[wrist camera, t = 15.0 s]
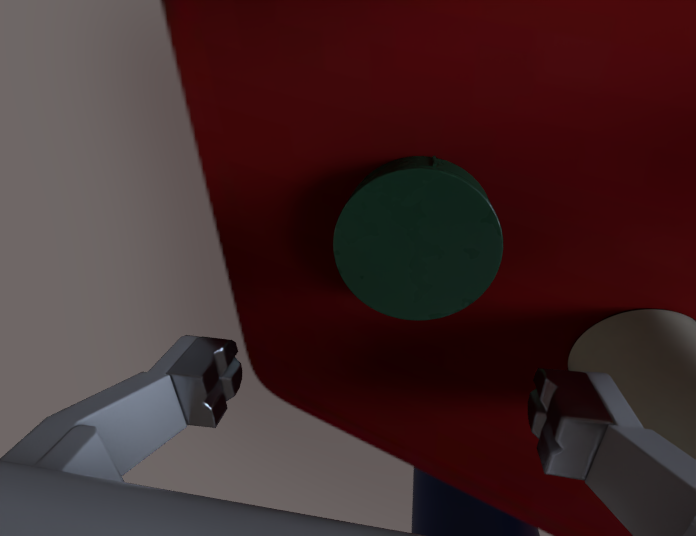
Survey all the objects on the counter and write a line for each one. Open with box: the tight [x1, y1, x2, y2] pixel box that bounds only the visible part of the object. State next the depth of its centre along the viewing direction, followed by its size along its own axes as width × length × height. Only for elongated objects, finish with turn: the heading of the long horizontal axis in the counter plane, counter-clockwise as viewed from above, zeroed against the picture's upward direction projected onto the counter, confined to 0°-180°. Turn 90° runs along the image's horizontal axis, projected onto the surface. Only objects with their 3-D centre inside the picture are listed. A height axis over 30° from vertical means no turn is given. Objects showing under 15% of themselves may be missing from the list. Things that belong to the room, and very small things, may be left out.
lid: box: [333, 156, 503, 320], centre depth 16 cm, size 7×7×2 cm
